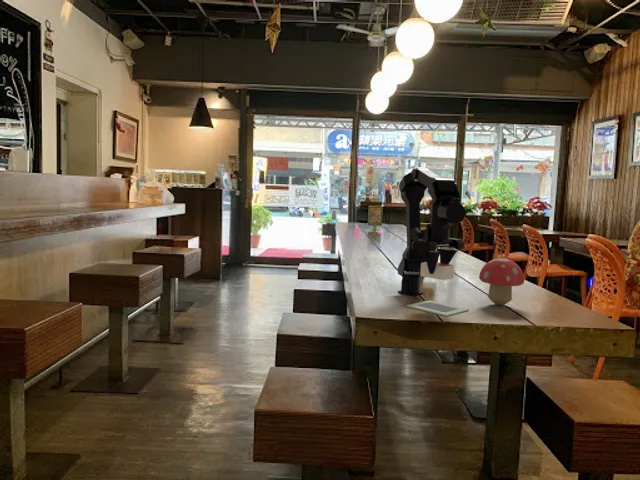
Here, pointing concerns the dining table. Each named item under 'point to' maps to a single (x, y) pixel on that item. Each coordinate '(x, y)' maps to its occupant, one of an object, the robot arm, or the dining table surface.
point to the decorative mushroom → (501, 279)
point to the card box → (438, 271)
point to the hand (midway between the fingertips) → (436, 273)
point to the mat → (437, 308)
